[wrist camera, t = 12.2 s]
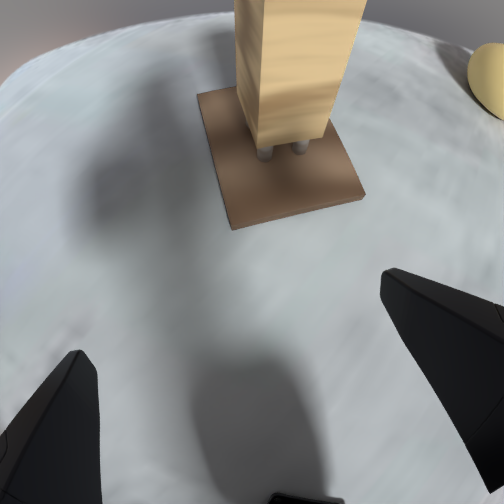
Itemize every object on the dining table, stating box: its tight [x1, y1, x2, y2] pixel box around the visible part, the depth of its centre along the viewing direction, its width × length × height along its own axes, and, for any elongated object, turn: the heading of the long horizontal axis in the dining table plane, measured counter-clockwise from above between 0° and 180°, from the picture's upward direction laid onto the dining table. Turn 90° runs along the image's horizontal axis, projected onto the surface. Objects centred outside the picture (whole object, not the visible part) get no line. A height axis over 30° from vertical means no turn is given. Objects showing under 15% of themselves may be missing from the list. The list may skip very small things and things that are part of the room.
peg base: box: [197, 86, 366, 230], centre depth 24 cm, size 14×11×4 cm
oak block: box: [234, 0, 367, 149], centre depth 16 cm, size 6×5×12 cm
